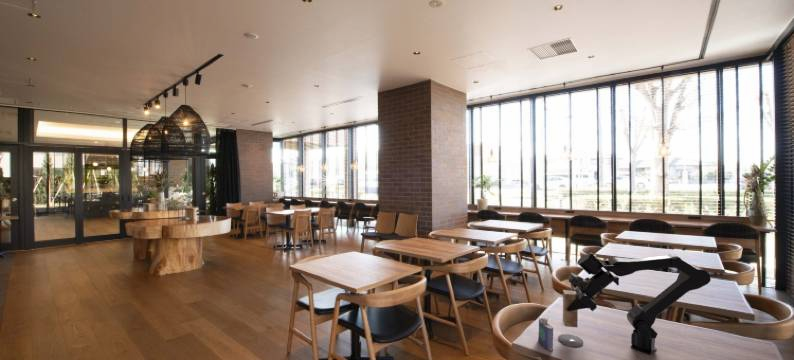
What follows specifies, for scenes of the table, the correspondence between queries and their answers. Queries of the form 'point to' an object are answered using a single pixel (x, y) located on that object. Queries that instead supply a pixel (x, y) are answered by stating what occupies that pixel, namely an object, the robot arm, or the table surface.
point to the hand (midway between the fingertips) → (566, 307)
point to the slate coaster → (570, 340)
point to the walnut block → (569, 316)
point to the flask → (545, 334)
